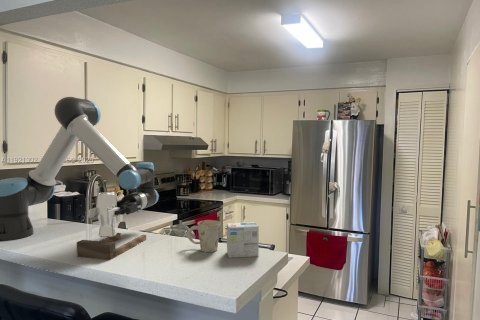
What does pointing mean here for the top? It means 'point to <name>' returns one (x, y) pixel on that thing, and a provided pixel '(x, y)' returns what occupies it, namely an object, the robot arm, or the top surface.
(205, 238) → the mug
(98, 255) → the brown u-shaped block
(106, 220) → the metal tumbler
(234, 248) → the light bulb box
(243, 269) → the top surface
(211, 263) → the top surface
